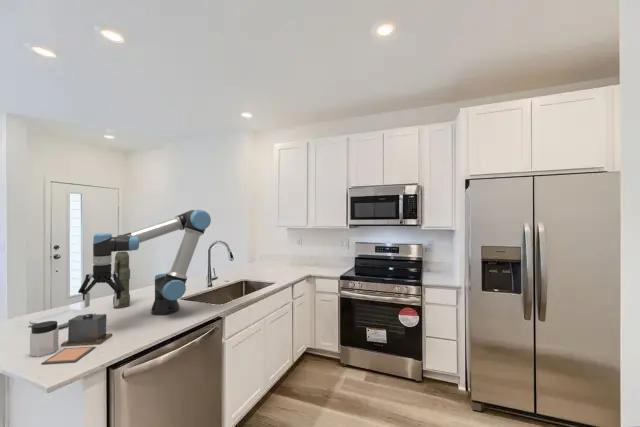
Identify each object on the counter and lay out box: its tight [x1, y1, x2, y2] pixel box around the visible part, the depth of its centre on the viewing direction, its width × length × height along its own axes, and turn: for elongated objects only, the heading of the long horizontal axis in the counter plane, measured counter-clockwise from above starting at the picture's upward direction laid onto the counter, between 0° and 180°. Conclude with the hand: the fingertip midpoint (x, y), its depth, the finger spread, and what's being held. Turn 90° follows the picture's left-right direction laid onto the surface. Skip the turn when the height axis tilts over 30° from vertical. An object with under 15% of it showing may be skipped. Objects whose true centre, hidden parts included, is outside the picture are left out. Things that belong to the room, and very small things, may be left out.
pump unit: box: [60, 313, 113, 347], centre depth 137 cm, size 16×10×12 cm, turn 98°
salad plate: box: [28, 308, 97, 329], centre depth 160 cm, size 21×21×3 cm
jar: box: [29, 321, 60, 358], centre depth 125 cm, size 9×8×12 cm
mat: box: [41, 345, 96, 366], centre depth 122 cm, size 12×13×1 cm
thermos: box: [112, 251, 131, 310], centre depth 188 cm, size 9×12×35 cm
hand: (101, 306), depth 148 cm, fingers open, 13 cm apart
